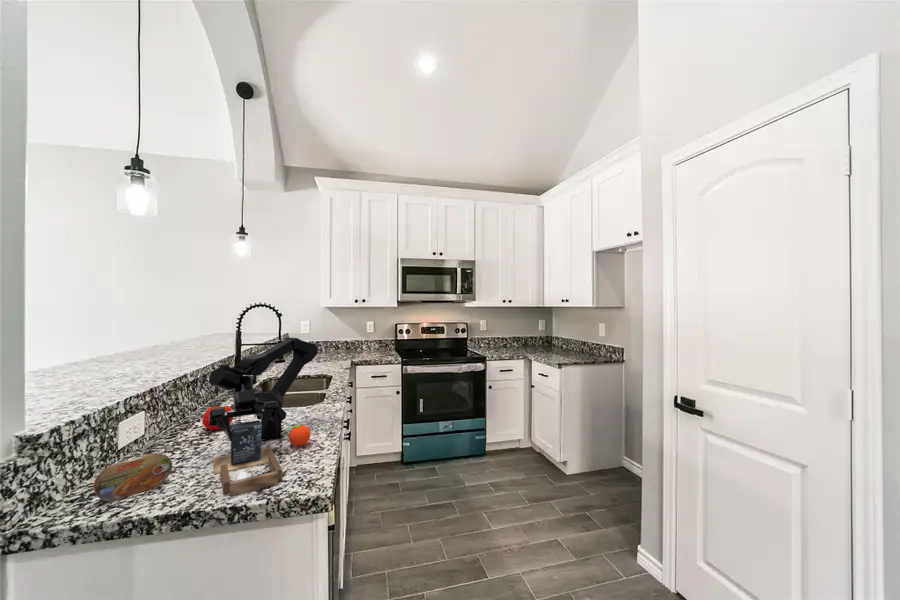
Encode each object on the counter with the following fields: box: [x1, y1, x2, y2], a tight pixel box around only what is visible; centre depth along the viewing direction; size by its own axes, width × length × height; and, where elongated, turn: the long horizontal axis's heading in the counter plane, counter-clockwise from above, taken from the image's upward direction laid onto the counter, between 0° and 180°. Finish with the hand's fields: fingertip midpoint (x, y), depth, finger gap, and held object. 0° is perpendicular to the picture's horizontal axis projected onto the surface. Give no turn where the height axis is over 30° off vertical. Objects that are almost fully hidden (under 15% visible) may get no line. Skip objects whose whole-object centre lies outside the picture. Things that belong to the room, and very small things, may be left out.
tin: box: [92, 452, 173, 502], centre depth 91 cm, size 15×3×8 cm, turn 148°
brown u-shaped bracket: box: [219, 454, 283, 497], centre depth 98 cm, size 14×14×3 cm
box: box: [229, 419, 262, 465], centre depth 109 cm, size 8×6×11 cm
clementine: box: [285, 424, 312, 447], centre depth 122 cm, size 8×7×7 cm
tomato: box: [202, 405, 234, 431], centre depth 137 cm, size 9×10×8 cm
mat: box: [212, 446, 275, 475], centre depth 110 cm, size 16×12×1 cm
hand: (246, 438), depth 108 cm, fingers closed on box, 8 cm apart
